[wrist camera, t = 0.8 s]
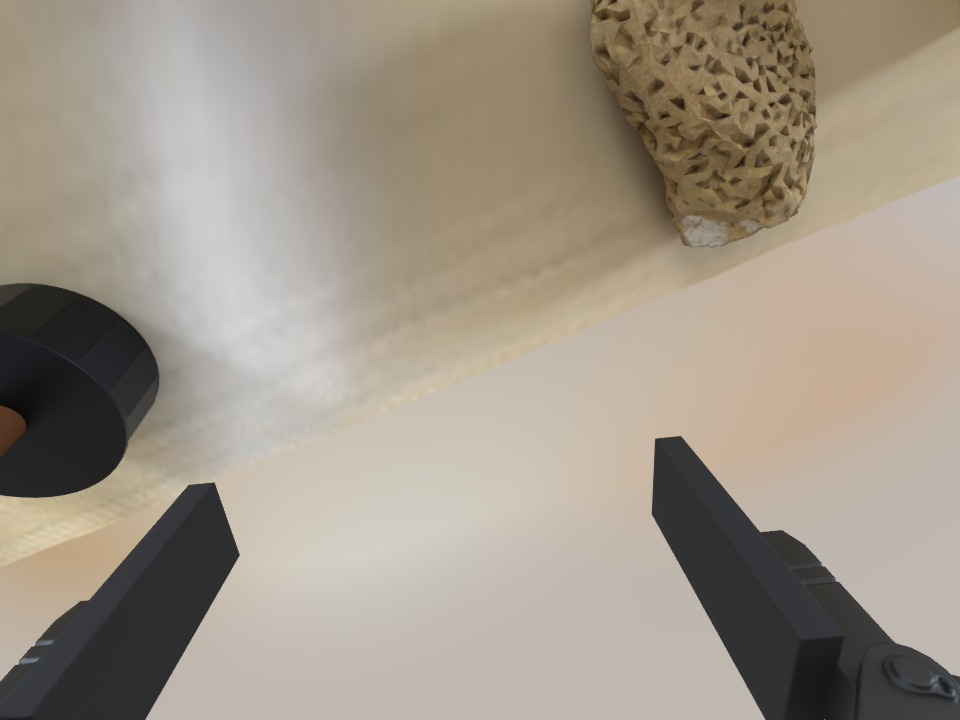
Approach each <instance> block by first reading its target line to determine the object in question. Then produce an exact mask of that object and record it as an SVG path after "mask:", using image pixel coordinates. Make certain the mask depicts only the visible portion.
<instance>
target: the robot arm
mask: <svg viewBox="0 0 960 720" xmlns="http://www.w3.org/2000/svg"><path fill="white" fill-rule="evenodd" d="M652 515H653V517H654V519H655V521H656V523H657V524H658V526H659V528H660V530H661V532H662V533H663V535H664V537H665V539H666V541H667V542H668V544H669V546H670V548H671V550H672V551H673V553H674V555H675V557H676V559H677V561H678V562H679V564H680V566H681V568H682V570H683V571H684V573H685V575H686V577H687V579H688V580H689V582H690V584H691V586H692V588H693V589H694V591H695V593H696V595H697V597H698V599H699V600H700V602H701V604H702V606H703V608H704V609H705V611H706V613H707V615H708V616H709V618H710V620H711V622H712V624H713V626H714V627H715V629H716V631H717V632H718V635H719V636H720V638H721V640H722V642H723V644H724V646H725V647H726V649H727V651H728V653H729V654H730V656H731V658H732V660H733V662H734V664H735V665H736V667H737V669H738V671H739V673H740V674H741V676H742V678H743V680H744V681H745V683H746V685H747V687H748V689H749V691H750V693H751V694H752V696H753V698H754V700H755V701H756V703H757V705H758V707H759V709H760V711H761V712H762V714H763V716H764V718H765V720H824V719H825V720H960V677H958V676H954V675H951V674H950V673H949V672H948V671H947V670H946V669H944V668H943V667H942V666H941V665H939V664H938V663H937V662H935V661H934V660H933V659H931V658H930V657H928V656H926V655H924V654H922V653H920V652H919V651H917V650H914V649H913V648H910V647H907V646H903V645H900V644H896V643H895V642H894V641H892V639H891V638H890V637H889V636H888V635H887V634H886V633H885V632H884V631H883V630H882V629H881V627H880V626H879V625H878V624H877V623H876V622H875V621H874V620H873V619H872V618H871V617H870V615H869V614H868V613H867V612H866V611H865V610H864V609H863V608H862V607H861V606H860V604H858V602H857V601H856V600H855V599H854V598H853V597H852V596H851V595H850V594H849V593H848V591H847V590H846V589H845V588H844V587H843V586H842V585H841V584H840V583H839V582H836V580H835V577H834V576H833V575H832V574H831V573H830V572H829V571H828V570H827V569H826V567H823V566H822V564H821V562H820V561H819V560H818V559H817V558H816V556H815V555H814V554H813V553H812V552H811V551H810V550H809V549H808V548H807V547H806V546H805V545H804V544H803V543H801V542H800V541H798V540H797V539H795V538H793V537H792V536H790V535H789V534H787V533H786V532H784V531H782V530H779V531H769V532H759V530H758V529H757V528H756V527H755V526H754V524H753V523H752V522H751V520H750V519H749V518H748V517H747V516H746V515H745V513H744V512H743V511H742V510H741V508H740V507H739V506H738V505H737V504H736V503H735V501H734V500H733V499H732V497H731V496H730V495H729V494H728V493H727V491H726V490H725V489H724V488H723V487H722V485H721V484H720V483H719V482H718V481H717V479H716V478H715V477H714V476H713V474H712V473H711V472H710V471H709V470H708V469H707V467H706V466H705V465H704V464H703V462H702V461H701V460H700V459H699V457H698V456H697V455H696V454H695V453H694V451H693V450H692V449H691V448H690V447H689V445H688V444H687V443H686V442H685V440H684V439H683V438H682V437H681V436H677V437H668V438H657V439H655V455H654V477H653V500H652ZM239 556H240V555H239V551H238V549H237V546H236V543H235V540H234V537H233V534H232V532H231V529H230V526H229V523H228V520H227V517H226V514H225V511H224V508H223V506H222V503H221V500H220V497H219V494H218V491H217V488H216V486H215V483H204V484H194V485H188V486H187V488H186V489H185V490H184V491H183V492H182V493H181V495H180V496H179V497H178V498H177V499H176V500H175V502H174V503H173V504H172V505H171V506H170V507H169V509H168V510H167V511H166V512H165V513H164V514H163V515H162V517H161V518H160V519H159V520H158V521H157V522H156V524H155V525H154V526H153V527H152V528H151V529H150V531H149V532H148V533H147V534H146V535H145V536H144V538H143V539H142V540H141V541H140V542H139V543H138V544H137V545H136V547H135V548H134V549H133V550H132V551H131V552H130V554H129V555H128V556H127V557H126V558H125V559H124V561H123V562H122V563H121V564H120V565H119V566H118V568H117V569H116V570H115V571H114V572H113V573H112V575H111V576H110V577H109V578H108V579H107V580H106V581H105V583H104V584H103V585H102V586H101V587H100V588H99V589H98V591H97V592H96V593H95V594H94V595H93V596H92V598H91V599H90V600H88V601H80V602H79V603H78V604H76V605H75V606H74V607H72V608H71V609H70V610H68V611H67V612H66V613H65V614H63V615H62V616H61V617H59V618H58V619H57V620H56V621H55V622H54V623H53V624H52V625H51V626H50V627H49V628H48V629H47V630H46V632H45V633H44V634H43V635H42V636H41V637H40V638H39V639H38V640H37V641H36V645H35V646H34V647H31V648H30V649H29V650H28V651H27V653H26V654H25V655H24V656H23V657H22V658H21V659H20V660H19V661H20V662H19V664H18V665H15V666H14V667H13V668H12V669H11V670H10V672H9V673H8V674H7V675H6V676H5V677H4V678H3V679H2V681H0V720H145V719H146V717H147V716H148V714H149V712H150V710H151V709H152V707H153V705H154V703H155V702H156V700H157V698H158V696H159V695H160V693H161V691H162V690H163V688H164V686H165V684H166V682H167V681H168V679H169V677H170V676H171V674H172V672H173V670H174V669H175V667H176V665H177V663H178V662H179V660H180V658H181V656H182V655H183V653H184V651H185V649H186V647H187V646H188V644H189V642H190V641H191V639H192V637H193V636H194V634H195V632H196V630H197V629H198V627H199V625H200V623H201V622H202V620H203V618H204V616H205V615H206V613H207V611H208V609H209V608H210V606H211V604H212V603H213V601H214V599H215V597H216V595H217V593H218V592H219V590H220V589H221V587H222V585H223V583H224V582H225V580H226V578H227V576H228V575H229V573H230V571H231V569H232V568H233V566H234V564H235V562H236V561H237V559H238V557H239Z"/></svg>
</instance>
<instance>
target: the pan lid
mask: <svg viewBox="0 0 960 720" xmlns="http://www.w3.org/2000/svg"><path fill="white" fill-rule="evenodd" d="M128 441H129V428H128V423H127V418H126V415H125V413H124V410H123V408H122V406H121V404H120V402H119V401H118V399H117V397H116V396H115V394H114V393H113V392H112V391H111V389H110V388H109V387H108V385H107V384H106V383H105V382H104V381H103V380H102V379H101V378H100V377H99V376H98V375H97V374H96V373H94V372H93V371H92V370H91V369H89V368H88V367H87V366H86V365H85V364H83V363H82V362H80V361H79V360H77V359H76V358H74V357H73V356H71V355H70V354H68V353H66V352H64V351H63V350H61V349H59V348H57V347H55V346H53V345H51V344H49V343H47V342H45V341H42V340H40V339H38V338H35V337H33V336H30V335H27V334H24V333H21V332H18V331H15V330H11V329H7V328H3V327H0V495H4V496H12V497H26V498H41V497H54V496H61V495H66V494H70V493H74V492H78V491H81V490H84V489H86V488H89V487H91V486H93V485H95V484H97V483H99V482H100V481H102V480H103V479H104V478H106V477H107V476H109V475H110V474H111V473H112V472H113V471H114V470H115V469H116V467H117V466H118V464H119V463H120V461H121V460H122V458H123V457H124V454H125V452H126V449H127V446H128Z"/></svg>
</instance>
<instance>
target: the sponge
mask: <svg viewBox="0 0 960 720" xmlns="http://www.w3.org/2000/svg"><path fill="white" fill-rule="evenodd" d="M591 6H592V16H593V17H592V21H591V28H590V38H591V45H592V50H593V56H594V60H595V62H596V63H597V65H598V67H599V69H600V70H601V71H602V72H603V73H604V74H606V75H607V77H608V80H607V81H606V85H607V86H608V88H609V89H610V90H611V92H612V93H613V95H614V97H615V98H616V100H617V102H618V104H619V106H620V107H622V108H623V111H624V114H625V117H626V120H627V122H628V123H630V124H631V125H632V126H633V127H634V129H635V130H636V131H637V132H638V133H639V134H640V135H641V136H642V138H643V140H644V142H645V146H646V148H647V150H648V152H649V154H650V156H651V157H652V158H653V159H655V162H654V163H655V164H656V165H658V167H659V168H660V171H661V173H662V174H663V177H664V182H665V184H666V186H667V193H666V200H667V208H668V209H669V210H670V211H671V212H673V214H674V216H673V217H671V220H672V222H673V223H674V225H675V227H676V228H677V230H678V231H679V232H680V234H681V240H682V243H683V245H685V246H689V247H710V248H713V247H720V246H724V245H726V244H728V243H730V242H733V241H736V240H739V239H743V238H745V237H748V236H751V235H753V234H754V233H756V232H758V231H759V230H761V229H762V228H772V227H774V226H776V225H778V224H781V223H783V222H786V221H788V219H789V218H790V217H792V216H794V215H796V214H797V213H798V209H799V207H800V204H801V203H802V201H803V199H804V197H805V195H806V189H807V184H808V181H809V177H810V173H811V169H812V164H813V160H814V144H813V142H814V135H815V134H814V129H815V128H817V125H816V122H815V120H816V106H815V90H814V88H815V68H814V63H813V61H812V59H811V57H810V56H809V55H810V53H811V51H812V49H813V48H811V47H809V44H808V40H807V38H806V37H805V35H804V33H803V30H804V29H803V27H802V25H801V23H800V21H799V20H796V19H794V16H795V14H796V11H797V8H796V5H795V2H794V0H591Z"/></svg>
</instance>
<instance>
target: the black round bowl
mask: <svg viewBox="0 0 960 720" xmlns="http://www.w3.org/2000/svg"><path fill="white" fill-rule="evenodd" d="M0 327H3V328H7V329H11V330H15V331H18V332H21V333H24V334H27V335H30V336H33V337H35V338H38V339H40V340H42V341H45V342H47V343H49V344H51V345H53V346H55V347H57V348H59V349H61V350H63V351H64V352H66V353H68V354H70V355H71V356H73V357H74V358H76V359H77V360H79V361H80V362H82V363H83V364H85V365H86V366H87V367H88V368H89V369H91V370H92V371H93V372H94V373H96V374H97V375H98V376H99V377H100V378H101V379H102V380H103V381H104V382H105V383H106V384H107V385H108V387H109V388H110V389H111V391H112V392H113V393H114V394H115V396H116V397H117V399H118V401H119V402H120V404H121V406H122V408H123V410H124V413H125V415H126V418H127V423H128V428H129V439H130V437H131V436H132V434H133V433H134V432H135V430H136V429H137V427H138V426H139V424H140V423H141V421H142V420H143V418H144V417H145V415H146V414H147V412H148V411H149V409H150V408H151V406H152V405H153V403H154V401H155V397H156V395H157V391H158V387H159V372H158V366H157V363H156V360H155V357H154V355H153V353H152V351H151V349H150V347H149V346H148V345H147V343H146V342H145V340H144V339H143V337H142V336H141V335H140V334H139V333H138V332H137V330H136V329H135V328H134V327H132V326H131V325H130V324H129V323H128V322H127V321H126V320H125V319H123V318H122V317H121V316H119V315H118V314H117V313H116V312H114V311H112V310H111V309H109V308H108V307H106V306H104V305H103V304H101V303H99V302H97V301H95V300H93V299H91V298H88V297H86V296H83V295H81V294H78V293H76V292H73V291H69V290H66V289H63V288H58V287H53V286H48V285H41V284H9V285H2V286H0Z"/></svg>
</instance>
